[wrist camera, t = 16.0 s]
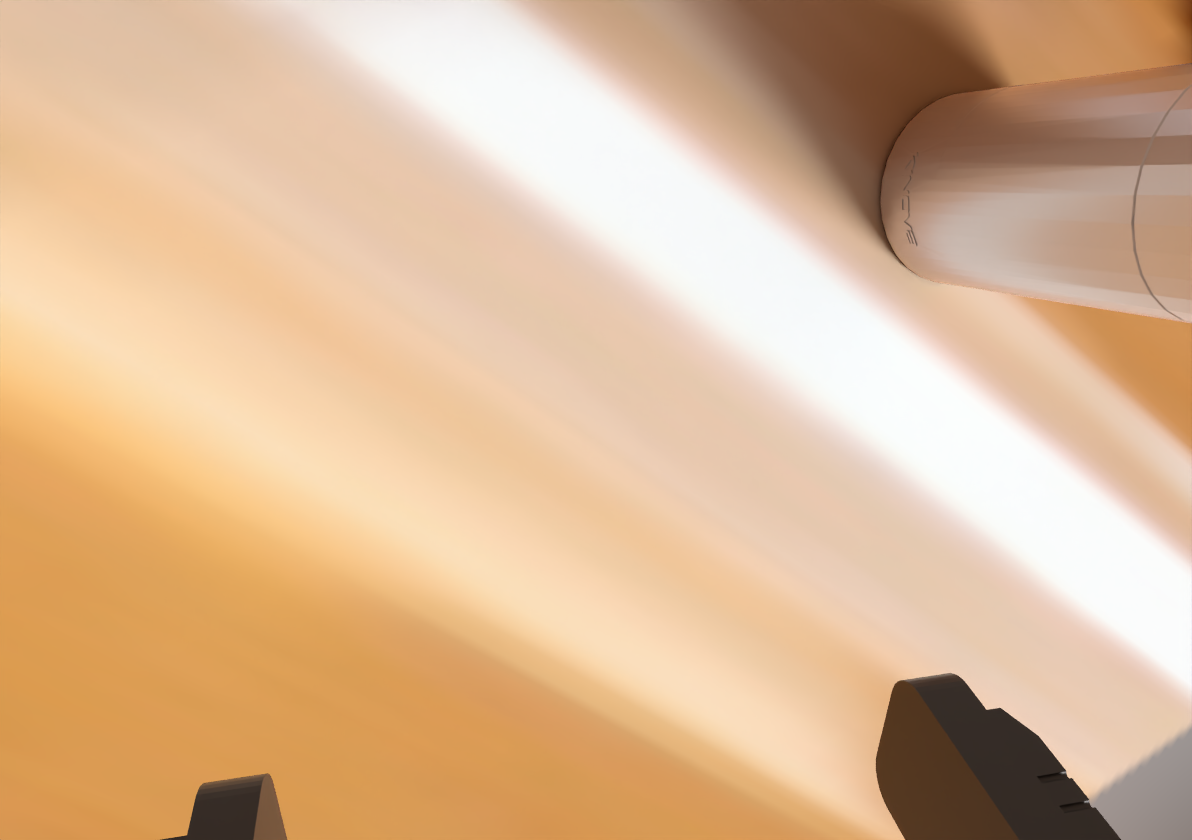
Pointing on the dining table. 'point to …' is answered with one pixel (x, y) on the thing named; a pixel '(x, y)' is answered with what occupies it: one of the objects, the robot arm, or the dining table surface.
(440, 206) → the dining table surface
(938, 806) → the robot arm
